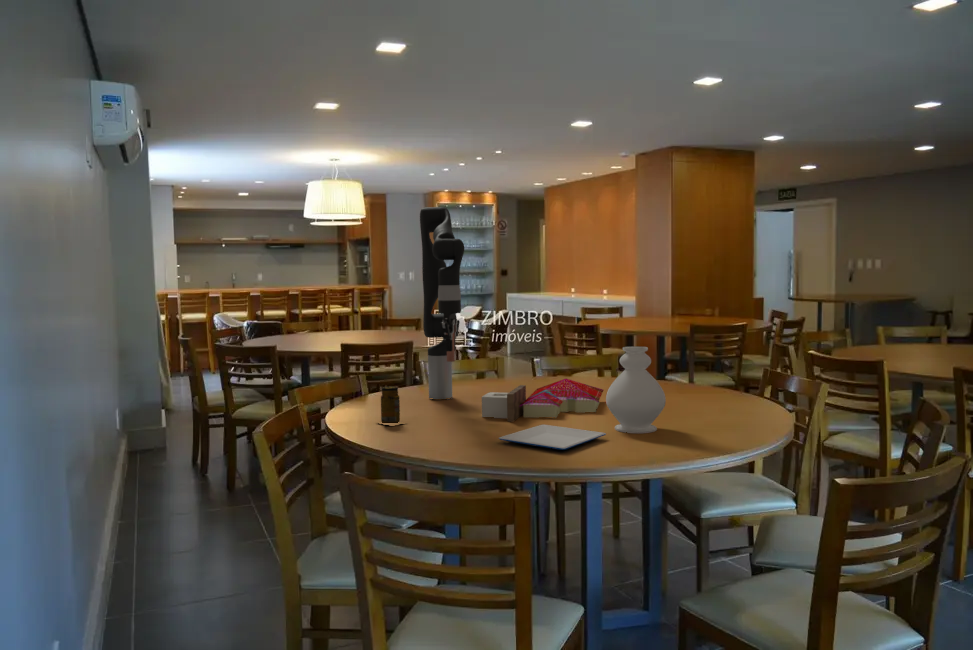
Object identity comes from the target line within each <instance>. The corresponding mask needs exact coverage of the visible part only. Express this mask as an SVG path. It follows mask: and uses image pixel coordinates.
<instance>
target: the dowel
mask: <svg viewBox="0 0 973 650" xmlns="http://www.w3.org/2000/svg"><path fill="white" fill-rule="evenodd" d="M447 335H448V334H447ZM452 348H453V350H452V351H447V362H452V363H453V362H455V361H456V358H455V350H454V333H453V334H452Z"/></svg>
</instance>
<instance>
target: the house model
mask: <svg viewBox="0 0 973 650" xmlns="http://www.w3.org/2000/svg"><path fill="white" fill-rule="evenodd" d="M603 393H604V389H602V388H599V387H596V386H592V385H589V384H585V383H582V382H579V381H575V380H572V379H568V378H563V379H561V380H558V381H555V382H552V383H550V384H546V385H543V386H541V387H539V388H536V389H535V390H534V391H533V392H532V393H531V394H530V395H529V396H528V397H526V400H525V401H524V402H523V403H522V404H521V405H520V406H522V405H523V407H524V413H523V418H539V417H552V418H551V419H557V417H558V416H559V415H558V414H560V413H568V412H575V413H585V412H595V413H596V412H597V410H598V408H599V405H600V399H601V397H602V395H603ZM520 406H519V407H520ZM596 409H597V410H596ZM553 417H555V418H553Z"/></svg>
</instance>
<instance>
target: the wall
mask: <svg viewBox="0 0 973 650" xmlns="http://www.w3.org/2000/svg"><path fill="white" fill-rule="evenodd" d="M526 388H527V384H524V385H523V384H520V385H518V386H516V387H515V388H514V389H512V390H510V391H509V392H507V393H508V394H507V418H506V419H507V422H510V423H511V422H514V421H516V420H517V419H518V418H519V417H520V416H521V415H522V416H523V415H524V407H523V405H522V406H520V405H521V404H522V403H523V402H524V401H525V400H526V399H527V389H526ZM519 406H520V407H519Z"/></svg>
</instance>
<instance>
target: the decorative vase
mask: <svg viewBox="0 0 973 650" xmlns="http://www.w3.org/2000/svg"><path fill="white" fill-rule="evenodd" d="M622 351H623V352H625V353H624V354H622V355H621V357H620V358H619V364H620V366H622V368H623V369H624V370H623V371H622V372H621V373H620V374H619V375H618V376H617V377H616V378H615V379H614V380H613V381H612V383H611V384H610V386H609V388H608V389H607V393H606V396H605V402H606V406H607V408H608V409H609V411H610V413H611V414H612V415H613V417H614V418H615V419H616V420H617V421H618V422H619V424H616V425H615V426H614V430H615V431H617V432H621V433H626V432H627V433H626V434H650V433H654V432H656V431H657V430H658V429H657V426H656V425H653V422H654V421H655V420H656V419H657V418H658V417H659V415H660V414H661V413H662V411H663V410H664V408H665V406H666V399H667V398H666V395H665V391H664V389H663V388H662V386H661V385H660V384H659V383H660V382H659V381H657V379H655V377H654V376H652V374H651V373H650V372H649V371H648V370H647V369H648V368H649V367H650V366H651V363H652V358H651V357H650V355H648V354H647V353H646V352H648V351H649V348H648V347H647V346H623V347H622Z"/></svg>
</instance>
